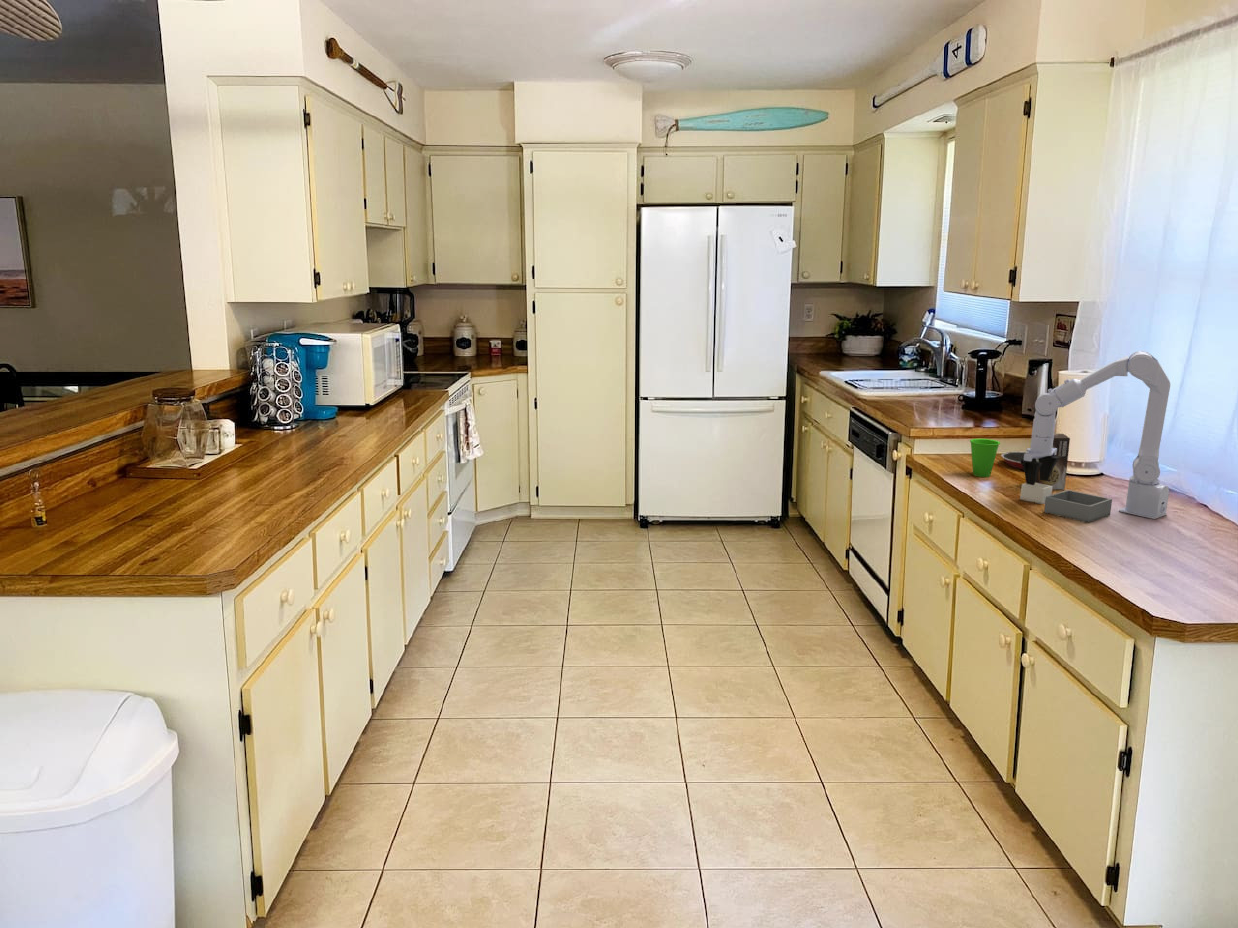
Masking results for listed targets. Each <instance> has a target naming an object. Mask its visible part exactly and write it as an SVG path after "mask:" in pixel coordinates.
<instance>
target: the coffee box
mask: <svg viewBox="0 0 1238 928" xmlns="http://www.w3.org/2000/svg"><path fill="white" fill-rule="evenodd" d="M1070 441H1071V438H1070V437H1069V436H1067V435H1066V434H1064V433H1054V439H1053V447H1052V448H1057V453H1056V455H1054V456H1057V457H1059V460H1058V462H1057V463H1056V464H1055V466H1054V468H1053V470H1052V472H1051V475H1050V477H1049V480H1048V481H1044V480H1040V468H1039V471H1038V473H1037V478H1036V482H1035V483H1040V484H1044V485H1049V486H1053V487H1052V490H1055V491H1056V490H1060V491H1061V490H1063V491H1065V490H1066V489H1065V488H1066V479H1067V469H1068V460H1069V450H1070ZM1036 460H1037V462H1039V460H1038V459H1036Z"/></svg>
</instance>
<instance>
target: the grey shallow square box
mask: <svg viewBox="0 0 1238 928" xmlns="http://www.w3.org/2000/svg"><path fill="white" fill-rule="evenodd" d="M1112 504H1113V498H1108V497H1103V496H1099V495H1094V494H1091V493H1090V494H1089V493H1084V492H1079V491H1076V490H1071V489H1065V490H1063V491H1059V492H1057V493H1052V495H1050V496H1046V499H1045V503H1044V507H1043V508H1044V509H1043V513H1044V512H1045V514H1048V513H1051V514H1050V515H1052V514H1054V515H1053V516H1057V515H1059V516H1058V517H1061V516H1063V517H1062V518H1065V517H1067V518H1066V519H1070V518H1071V519H1070V520H1074V519H1075V520H1074V521H1078V520H1079V521H1080V522H1082V521H1084V522H1083V523H1087V522H1088V523H1093V522H1095V521H1098V520H1100V519H1103V518H1106V517H1109V516H1111V511H1112ZM1088 523H1087V524H1088Z"/></svg>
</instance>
